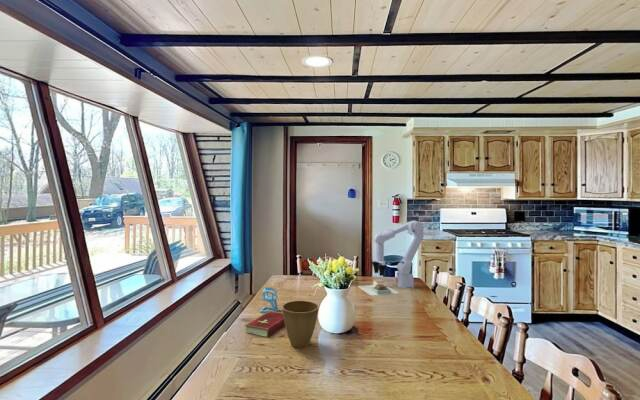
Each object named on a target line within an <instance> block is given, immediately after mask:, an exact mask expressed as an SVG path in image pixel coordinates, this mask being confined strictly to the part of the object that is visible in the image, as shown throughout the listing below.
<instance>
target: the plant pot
mask: <svg viewBox="0 0 640 400" xmlns="http://www.w3.org/2000/svg"><path fill="white" fill-rule="evenodd" d="M319 307H320V306H319V304H317V303H315V302H313V301H308V300H292V301H291V300H290V301H288V302H286V303H283V305H282V313H283V316H284V322H285V330H286V333H287V337H288V339H289V342H290V346H292V347H294V348H299V349H300V348H301V349H302V348H306V347H308V346H310V343H311V340H312V337H313V334H314V331H315V327H316V324H317V323H316V322H317V318H318V314H319Z"/></svg>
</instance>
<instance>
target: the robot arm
mask: <svg viewBox="0 0 640 400" xmlns="http://www.w3.org/2000/svg"><path fill="white" fill-rule="evenodd" d="M424 229H425V226H424V224H423V223H422V222H421V221H420V220H419V221H417V220H416V219H415V220H410V221H407V222H405V223H403V224H401V225H399V226H398V227H395V228H394V229H392V228H388V229H386V230H385V231H381V232H380V233H377V234H375V236H374V238H373V241H374V257H373V258H372V261H371V264H372V267H373V271H374V273H375V274H378V273H379V276H380V277H382V276H384V274H385V270H386V268H387V264H386V261H385V258H384V257H385V255H384V254H385V242H387V241H389V240H390V239H393V238H395V237H396V235H397V234H400V233H402V232H404V231H408V230H409V231H412V233H413V235H414V237H413V239H412V241H411V242H410V245H409V247H408V248H407V252H406V253H405V255H404V256H403V258H402V259H401V261H400V262H398V263H397V266H396V269H397V270H398V272H397V287H398V288H400V289H401V288H402V289H403V288H404V289H406V288H412V289H414V288H415V287H414V278H415V277H414V275H413V274H412V273H411V271H412V270H411V269H412V268H411V267H412V265H413V264H412V263H413V260H414V258H415V255H416V253H417V251H418V250H419V248H420V245H421V244H422V241H423V239H424V235H425V234H424Z"/></svg>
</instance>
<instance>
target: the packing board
mask: <svg viewBox="0 0 640 400" xmlns="http://www.w3.org/2000/svg"><path fill="white" fill-rule="evenodd" d="M384 285H385V286H387V287H386V290H377V289H375V286H374V284H368V285H367V284H365V285H364V284H363V285H357V287H358V288H359V289H360V290H362V291H363V292H365V293H366V294H367V295H369V296H382V295H383V296H384V295H396V294H399V291H397V290H395V289H394V288H391V287H390V286H388V285H386V284H385V283H384Z"/></svg>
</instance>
